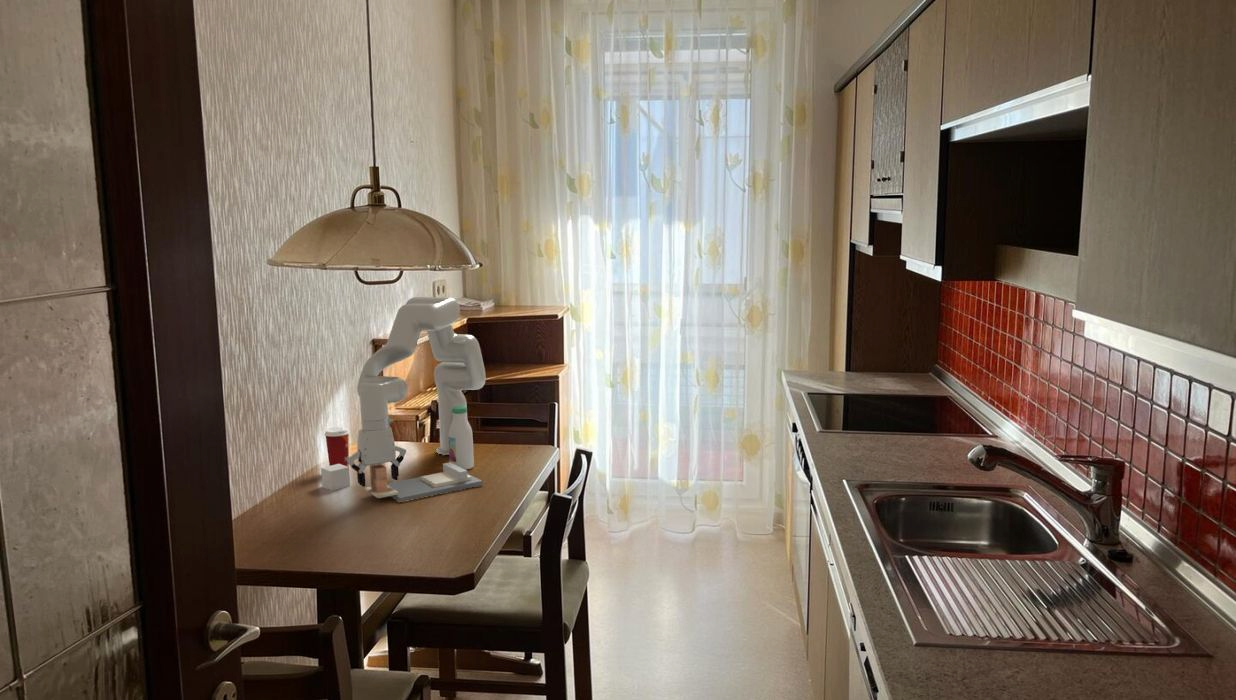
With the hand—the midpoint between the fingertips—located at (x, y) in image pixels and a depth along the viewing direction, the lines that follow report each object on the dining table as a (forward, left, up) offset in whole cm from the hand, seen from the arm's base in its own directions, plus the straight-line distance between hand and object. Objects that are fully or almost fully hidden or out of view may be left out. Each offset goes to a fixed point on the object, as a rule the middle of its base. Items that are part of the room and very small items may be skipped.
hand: (378, 482), depth 254 cm
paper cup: (-35, 0, -5) cm, 35 cm away
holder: (0, +16, -5) cm, 17 cm away
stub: (0, +1, -3) cm, 3 cm away
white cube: (-20, -6, -5) cm, 21 cm away
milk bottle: (-14, +33, -5) cm, 36 cm away
